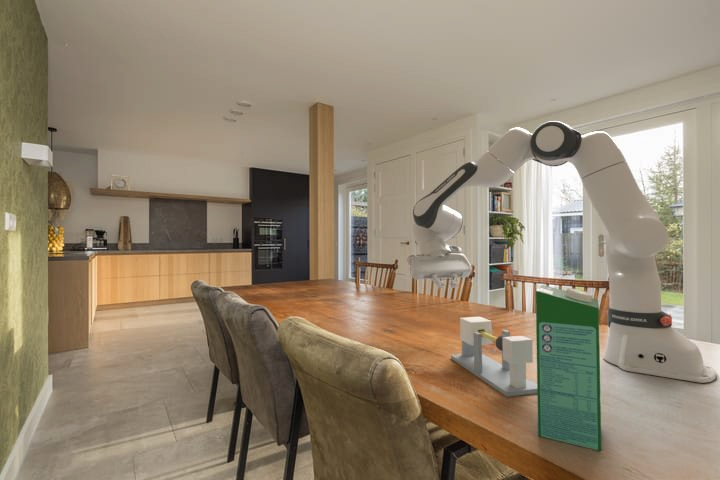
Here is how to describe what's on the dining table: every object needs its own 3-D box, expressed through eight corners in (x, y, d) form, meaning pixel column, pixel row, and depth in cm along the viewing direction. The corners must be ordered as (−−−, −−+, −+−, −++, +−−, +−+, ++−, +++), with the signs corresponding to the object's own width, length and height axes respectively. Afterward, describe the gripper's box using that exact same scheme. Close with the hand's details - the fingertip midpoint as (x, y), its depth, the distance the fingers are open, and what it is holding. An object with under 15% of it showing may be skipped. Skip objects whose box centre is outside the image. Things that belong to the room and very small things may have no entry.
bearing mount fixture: (451, 358, 103) (450, 317, 103) (479, 355, 105) (479, 315, 105) (506, 396, 78) (505, 343, 78) (543, 392, 80) (542, 339, 80)
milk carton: (601, 451, 58) (598, 293, 58) (537, 436, 62) (535, 289, 62) (599, 426, 65) (597, 286, 65) (543, 414, 70) (541, 284, 70)
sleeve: (460, 339, 101) (459, 317, 101) (480, 337, 102) (479, 316, 102) (471, 345, 95) (471, 322, 95) (492, 343, 96) (491, 321, 96)
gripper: (407, 248, 120) (419, 282, 110) (465, 247, 124) (481, 279, 115) (403, 261, 124) (414, 294, 115) (459, 259, 129) (474, 291, 119)
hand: (448, 286), depth 115 cm, fingers open, 3 cm apart
